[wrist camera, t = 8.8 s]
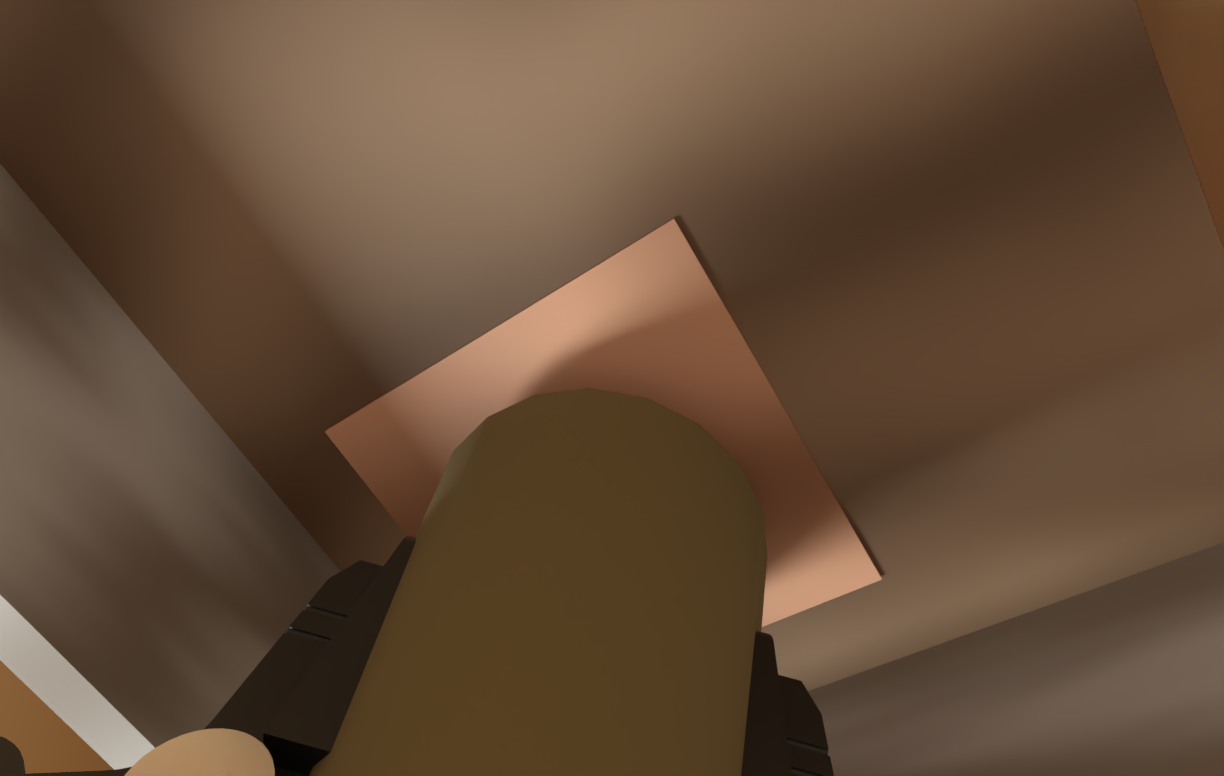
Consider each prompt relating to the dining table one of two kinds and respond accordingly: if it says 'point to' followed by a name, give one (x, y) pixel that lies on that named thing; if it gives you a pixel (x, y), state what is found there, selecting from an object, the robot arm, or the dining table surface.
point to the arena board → (624, 338)
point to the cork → (569, 604)
